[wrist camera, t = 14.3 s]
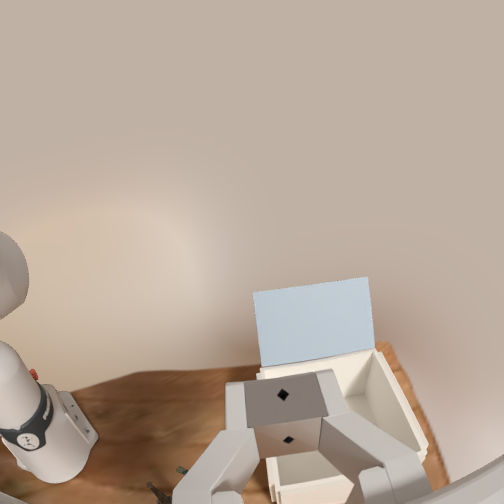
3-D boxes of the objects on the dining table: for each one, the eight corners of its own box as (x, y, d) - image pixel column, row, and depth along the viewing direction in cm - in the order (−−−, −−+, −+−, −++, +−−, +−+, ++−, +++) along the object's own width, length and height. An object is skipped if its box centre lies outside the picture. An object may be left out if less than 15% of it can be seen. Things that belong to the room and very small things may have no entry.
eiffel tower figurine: (184, 567, 23) (147, 553, 18) (126, 532, 28) (79, 502, 22) (236, 492, 35) (219, 454, 30) (178, 466, 40) (150, 422, 34)
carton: (407, 487, 31) (433, 454, 26) (274, 519, 30) (270, 496, 26) (369, 391, 49) (378, 347, 45) (261, 410, 49) (255, 368, 44)
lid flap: (367, 276, 45) (366, 276, 46) (252, 292, 45) (252, 292, 46) (374, 347, 44) (373, 346, 45) (261, 366, 44) (261, 365, 44)
